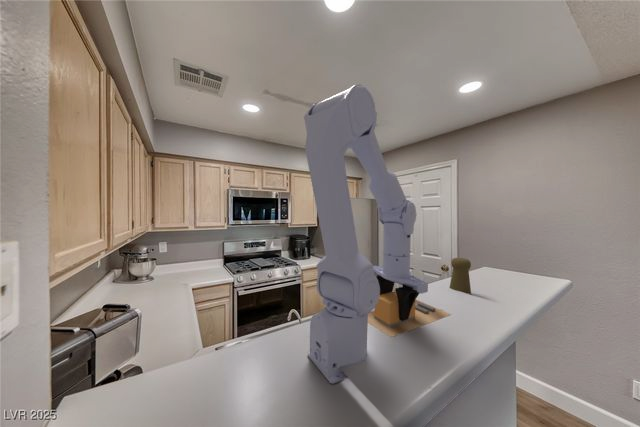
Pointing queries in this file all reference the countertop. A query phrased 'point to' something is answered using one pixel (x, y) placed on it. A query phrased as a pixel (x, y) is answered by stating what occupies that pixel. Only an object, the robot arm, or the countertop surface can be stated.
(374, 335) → the countertop surface
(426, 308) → the graphite mark
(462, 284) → the cork
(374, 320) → the pine board
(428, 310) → the graphite mark
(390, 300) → the block
